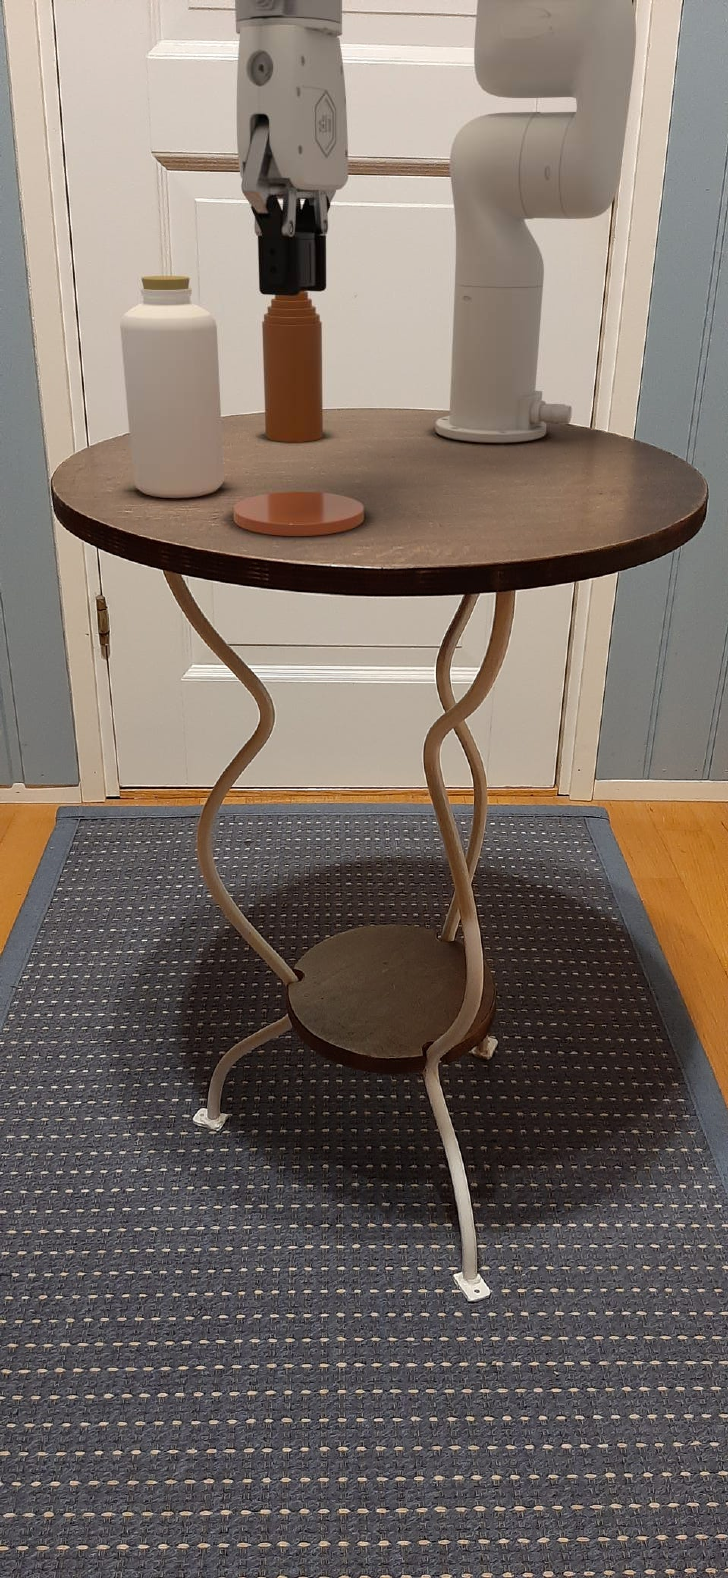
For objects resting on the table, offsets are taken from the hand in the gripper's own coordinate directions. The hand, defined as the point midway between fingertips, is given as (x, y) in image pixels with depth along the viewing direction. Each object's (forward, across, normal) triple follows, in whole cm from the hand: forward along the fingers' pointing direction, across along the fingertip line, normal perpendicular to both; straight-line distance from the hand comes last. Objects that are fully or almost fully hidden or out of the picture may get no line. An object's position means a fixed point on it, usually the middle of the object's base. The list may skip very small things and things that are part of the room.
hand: (293, 289), depth 89 cm
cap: (0, 0, 0) cm, 1 cm away
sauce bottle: (+18, +33, +16) cm, 40 cm away
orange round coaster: (+18, 0, 0) cm, 18 cm away
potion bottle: (+18, +5, +14) cm, 24 cm away
